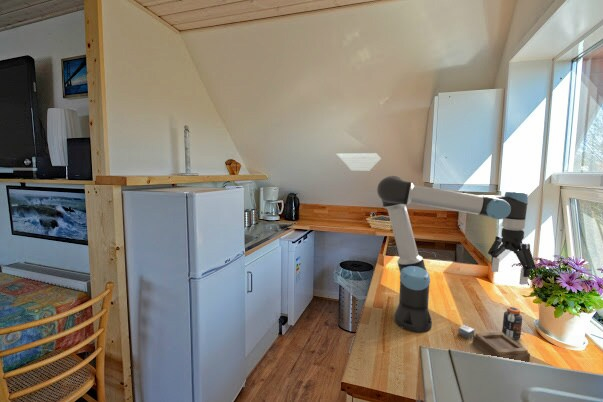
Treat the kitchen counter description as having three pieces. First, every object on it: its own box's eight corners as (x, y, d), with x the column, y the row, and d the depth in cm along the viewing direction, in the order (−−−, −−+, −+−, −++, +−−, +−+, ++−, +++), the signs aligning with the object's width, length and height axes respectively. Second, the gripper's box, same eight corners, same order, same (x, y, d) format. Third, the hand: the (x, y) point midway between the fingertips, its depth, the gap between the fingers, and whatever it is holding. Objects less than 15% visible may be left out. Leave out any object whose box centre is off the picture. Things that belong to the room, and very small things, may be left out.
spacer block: (468, 339, 110) (469, 332, 109) (458, 334, 113) (458, 327, 113) (473, 336, 112) (474, 329, 112) (463, 331, 115) (464, 324, 115)
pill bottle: (514, 341, 109) (517, 313, 107) (498, 333, 114) (501, 306, 113) (523, 337, 111) (526, 310, 110) (507, 329, 116) (510, 303, 115)
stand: (497, 364, 96) (498, 353, 95) (472, 342, 107) (473, 333, 107) (529, 361, 97) (530, 351, 96) (501, 340, 109) (502, 331, 108)
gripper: (551, 235, 104) (545, 289, 107) (495, 222, 129) (491, 266, 131) (534, 235, 103) (528, 290, 106) (481, 222, 128) (477, 267, 130)
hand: (508, 277), depth 118 cm, fingers open, 13 cm apart
